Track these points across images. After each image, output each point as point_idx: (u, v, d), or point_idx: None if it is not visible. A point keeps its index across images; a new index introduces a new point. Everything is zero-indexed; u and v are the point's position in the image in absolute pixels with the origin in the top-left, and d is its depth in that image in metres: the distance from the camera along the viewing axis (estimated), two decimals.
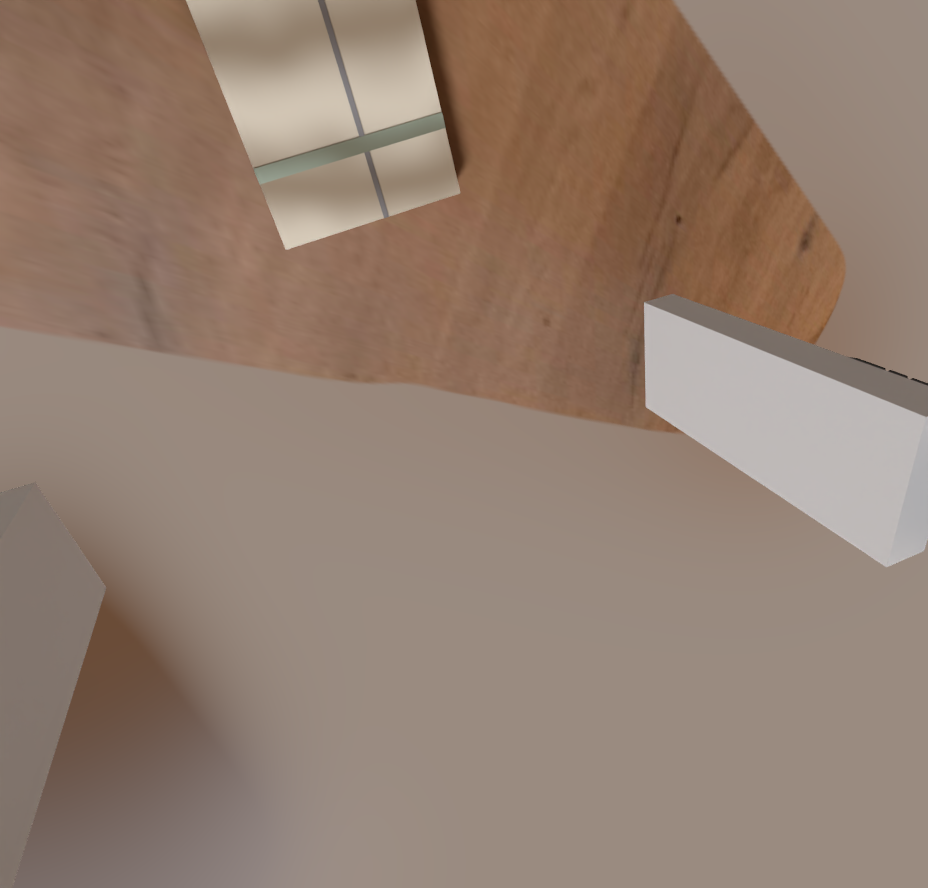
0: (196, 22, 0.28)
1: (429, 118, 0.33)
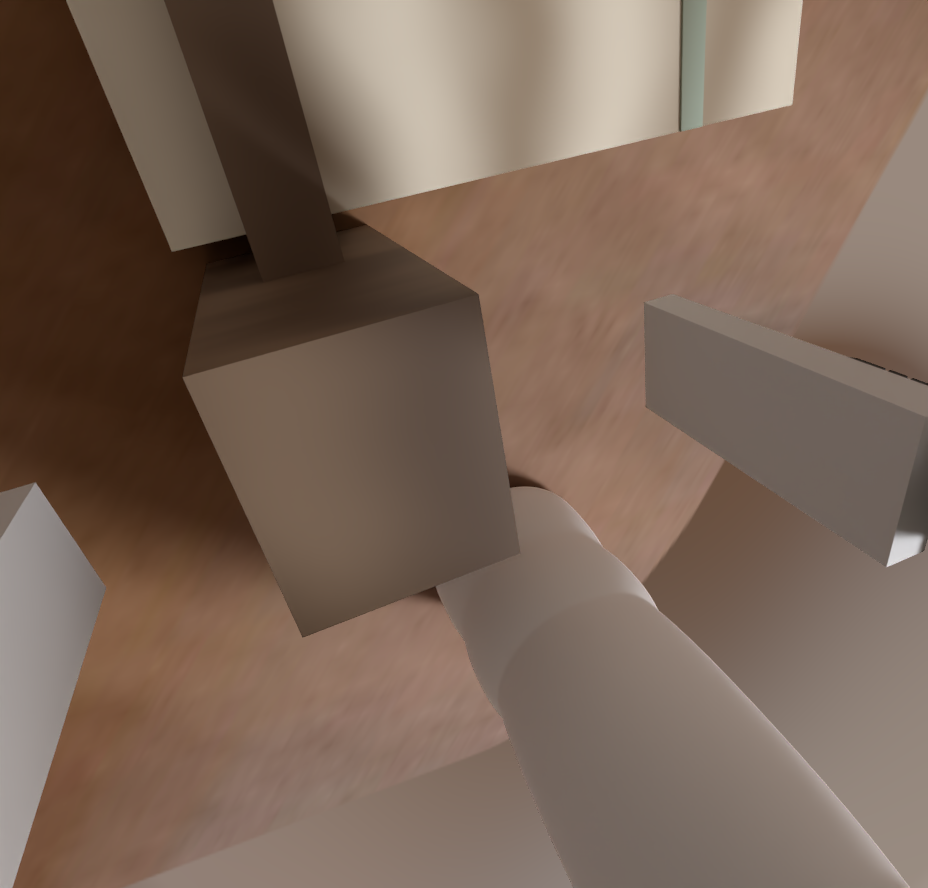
0: (488, 174, 0.17)
1: None
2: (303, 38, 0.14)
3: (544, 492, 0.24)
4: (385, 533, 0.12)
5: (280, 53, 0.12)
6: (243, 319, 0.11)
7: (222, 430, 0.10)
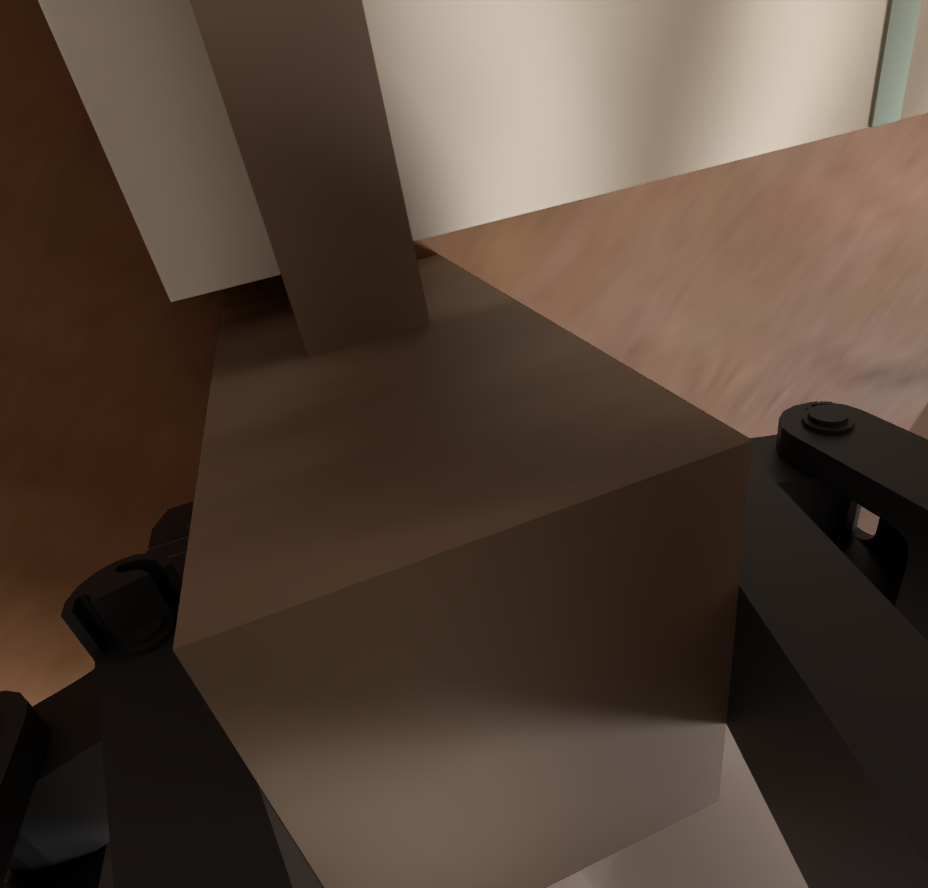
0: (616, 187, 0.12)
1: None
2: None
3: None
4: (526, 817, 0.07)
5: None
6: (286, 452, 0.06)
7: (254, 724, 0.05)
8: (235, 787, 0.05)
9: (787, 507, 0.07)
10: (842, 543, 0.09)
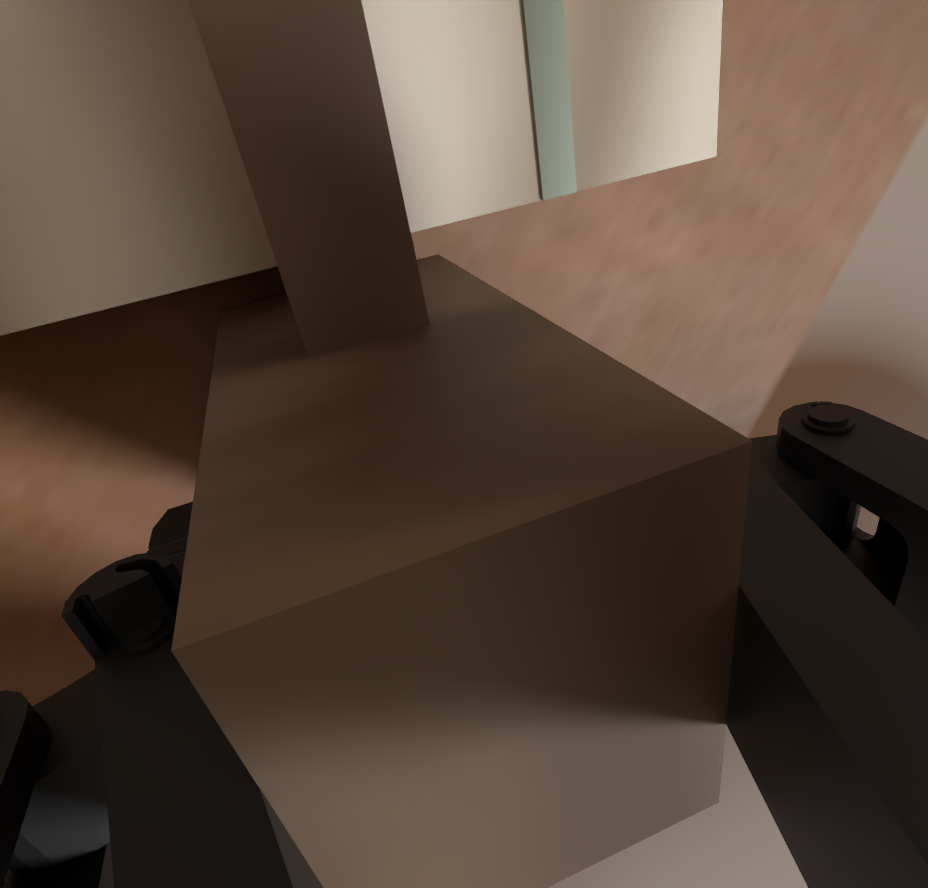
0: (228, 274, 0.11)
1: None
2: None
3: None
4: (526, 818, 0.07)
5: None
6: (286, 453, 0.06)
7: (253, 725, 0.05)
8: (236, 786, 0.05)
9: (787, 507, 0.07)
10: (842, 543, 0.09)
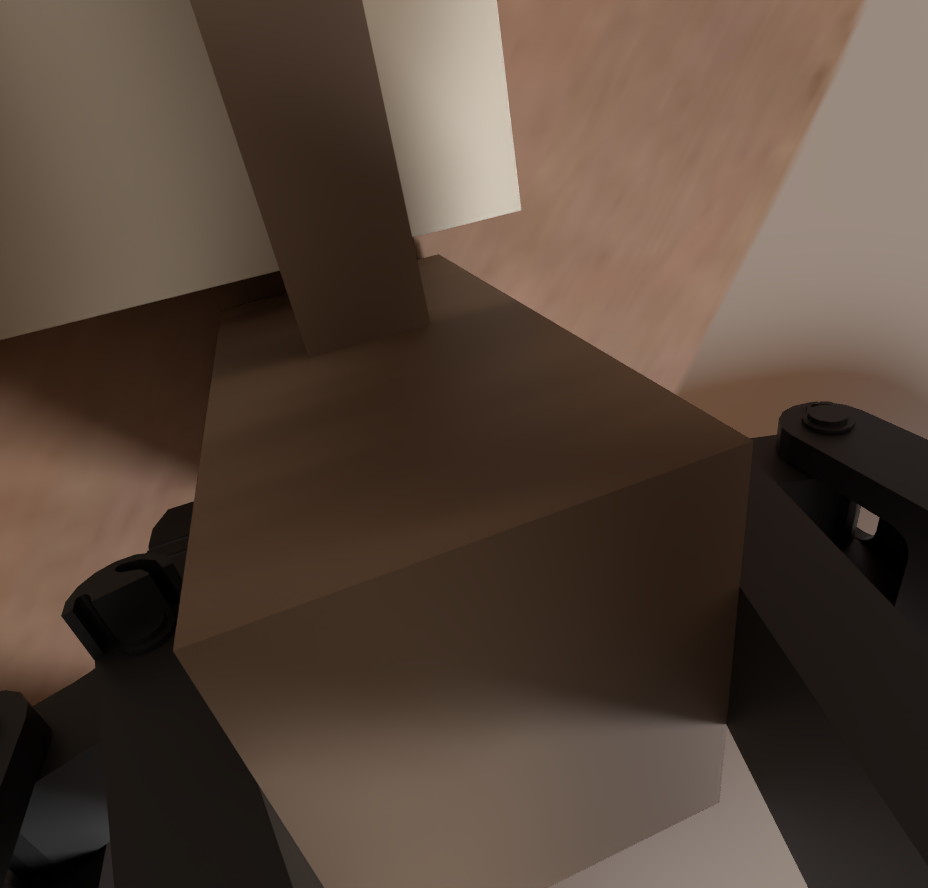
0: None
1: None
2: None
3: None
4: (527, 818, 0.07)
5: None
6: (287, 452, 0.06)
7: (254, 725, 0.05)
8: (236, 787, 0.05)
9: (787, 507, 0.07)
10: (842, 543, 0.09)
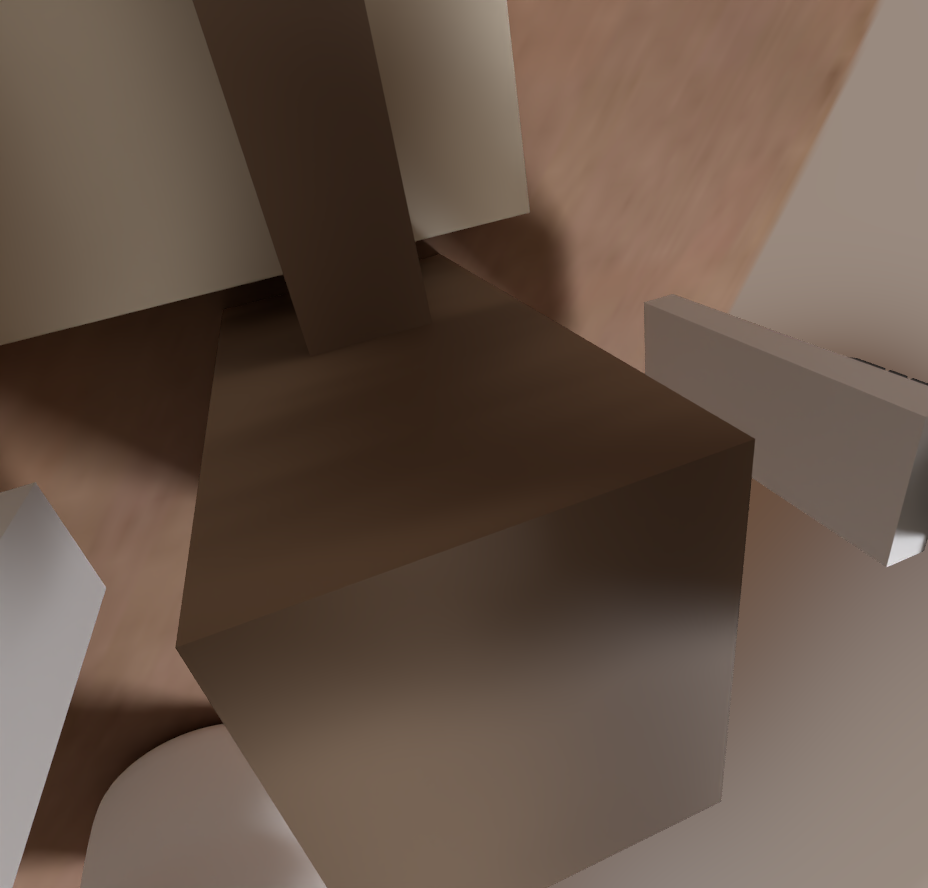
0: None
1: None
2: None
3: None
4: (528, 817, 0.07)
5: None
6: (289, 451, 0.06)
7: (257, 723, 0.05)
8: None
9: None
10: None
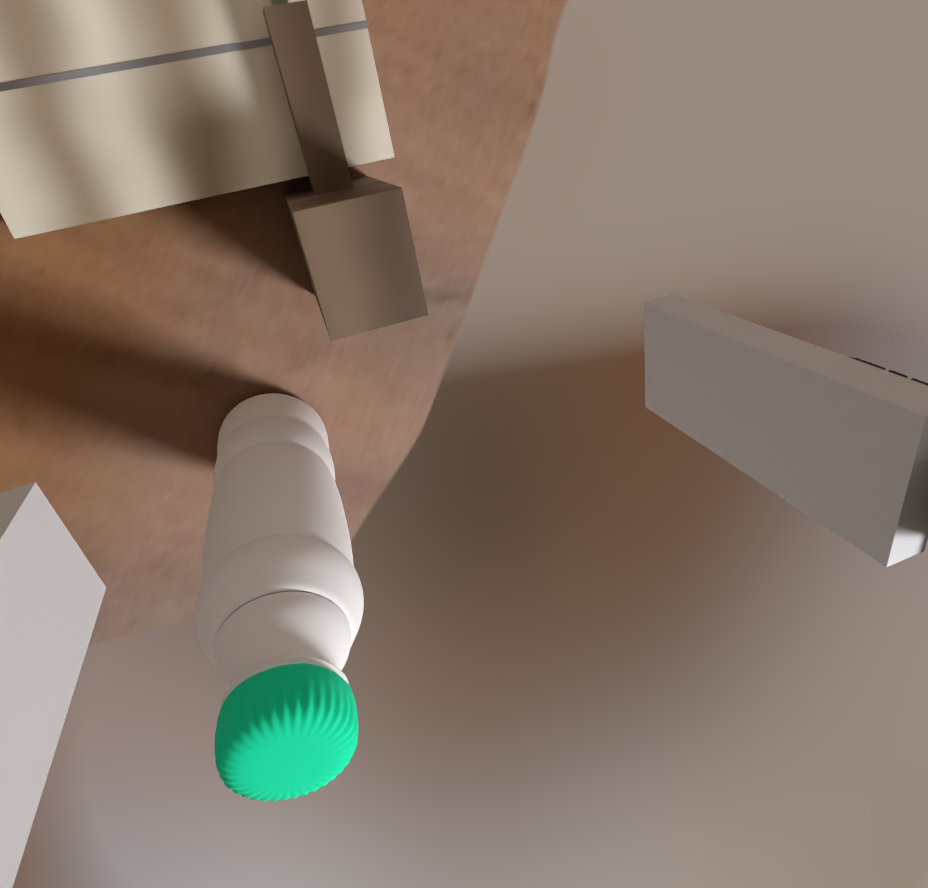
0: (195, 198, 0.31)
1: None
2: (74, 132, 0.28)
3: (288, 396, 0.38)
4: (366, 293, 0.28)
5: (327, 92, 0.29)
6: (310, 202, 0.28)
7: (304, 235, 0.26)
8: None
9: None
10: None
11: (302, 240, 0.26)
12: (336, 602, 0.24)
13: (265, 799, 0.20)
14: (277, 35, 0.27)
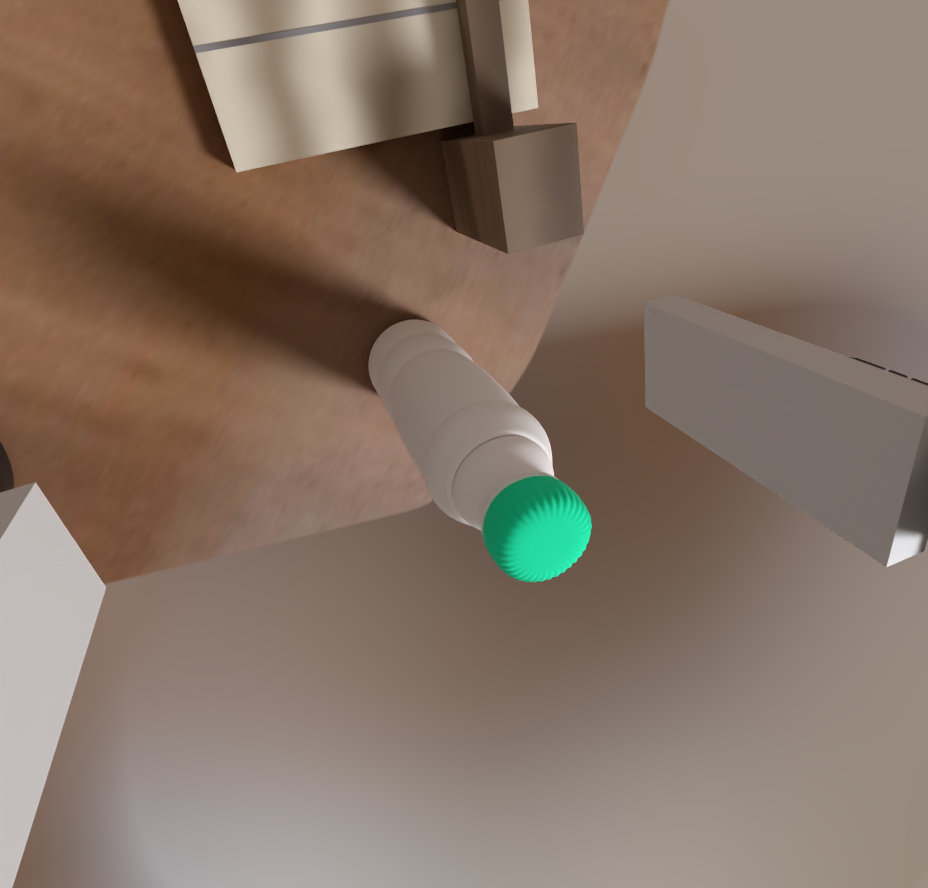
0: (379, 140, 0.37)
1: None
2: (293, 80, 0.34)
3: (429, 322, 0.44)
4: (539, 213, 0.34)
5: (502, 47, 0.34)
6: (493, 137, 0.34)
7: (499, 161, 0.32)
8: None
9: None
10: None
11: (497, 165, 0.32)
12: (544, 449, 0.30)
13: (524, 577, 0.26)
14: None
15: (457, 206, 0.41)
